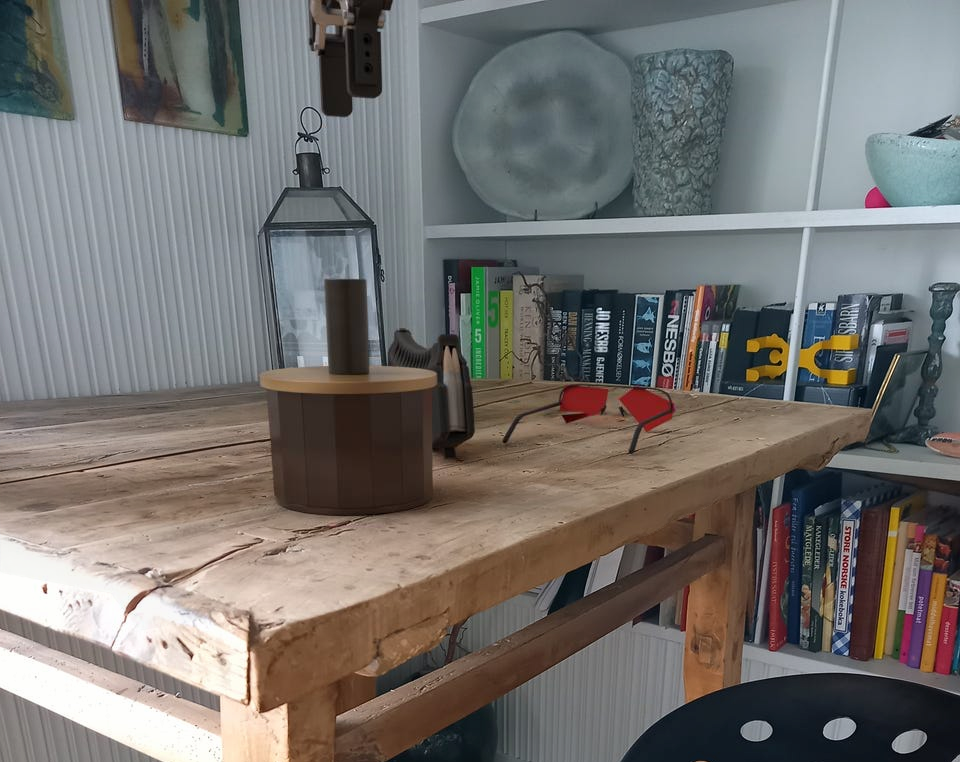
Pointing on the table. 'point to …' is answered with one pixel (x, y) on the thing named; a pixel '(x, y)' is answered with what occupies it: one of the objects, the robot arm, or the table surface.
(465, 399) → the magazine
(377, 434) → the brown faceted tub
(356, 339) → the lid
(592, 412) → the glasses
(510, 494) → the table surface
